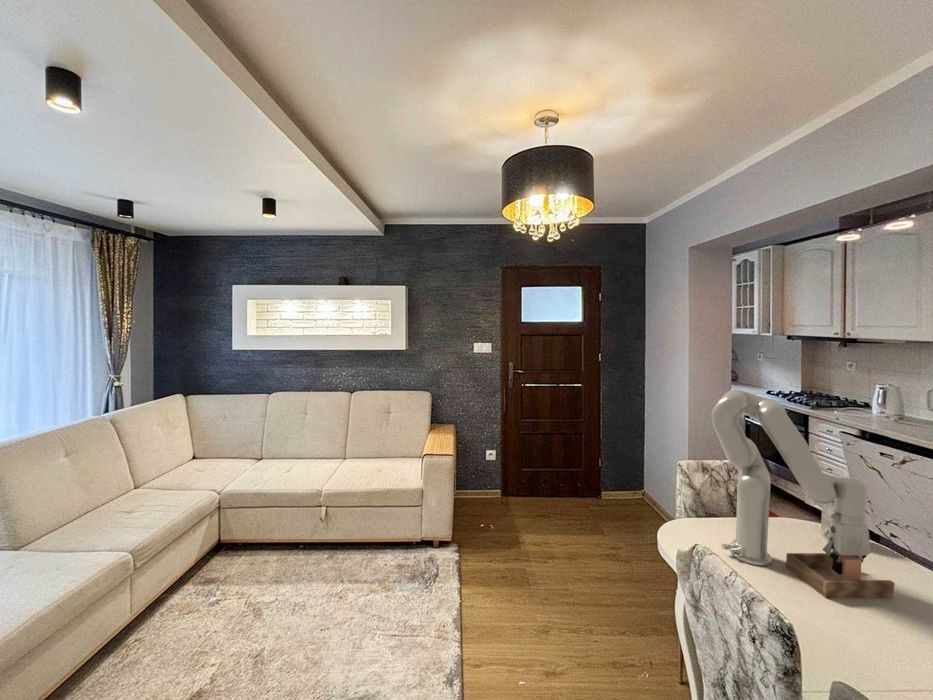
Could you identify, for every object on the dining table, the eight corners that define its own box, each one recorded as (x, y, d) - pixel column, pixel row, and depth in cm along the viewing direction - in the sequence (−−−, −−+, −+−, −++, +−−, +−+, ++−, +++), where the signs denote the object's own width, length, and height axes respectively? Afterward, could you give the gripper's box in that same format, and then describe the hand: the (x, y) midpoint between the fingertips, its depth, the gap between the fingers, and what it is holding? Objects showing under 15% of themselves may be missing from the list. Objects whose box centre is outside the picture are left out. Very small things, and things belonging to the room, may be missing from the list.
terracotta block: (844, 581, 135) (845, 560, 135) (831, 572, 140) (832, 551, 140) (860, 581, 135) (861, 560, 135) (846, 572, 140) (847, 551, 140)
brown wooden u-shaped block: (825, 598, 130) (826, 582, 130) (785, 567, 146) (786, 553, 146) (893, 598, 130) (894, 582, 129) (845, 567, 146) (846, 553, 146)
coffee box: (844, 535, 168) (846, 496, 166) (857, 544, 161) (860, 503, 160) (819, 534, 168) (821, 495, 167) (831, 543, 162) (834, 502, 161)
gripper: (831, 523, 133) (829, 579, 134) (886, 523, 133) (883, 579, 134) (812, 512, 140) (810, 565, 142) (864, 512, 140) (861, 565, 141)
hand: (845, 571), depth 138 cm, fingers closed on terracotta block, 5 cm apart
